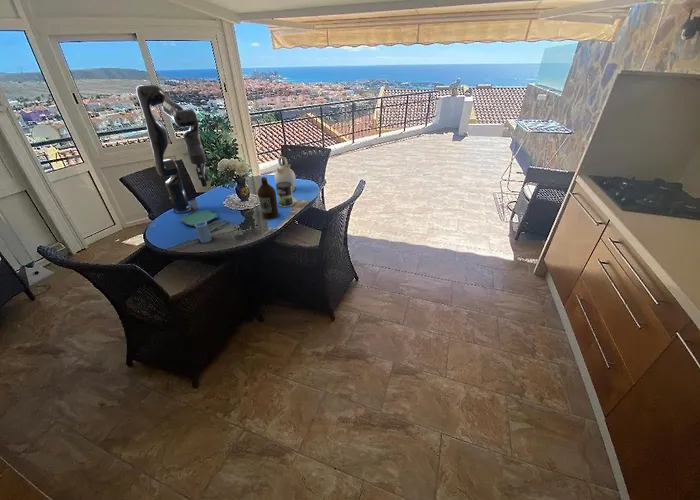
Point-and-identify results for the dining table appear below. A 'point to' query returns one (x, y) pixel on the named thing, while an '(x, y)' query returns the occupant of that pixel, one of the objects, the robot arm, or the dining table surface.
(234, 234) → the dining table surface
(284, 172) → the jug
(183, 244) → the dining table surface
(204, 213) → the cutlery set
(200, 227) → the cup
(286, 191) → the coffee can
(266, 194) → the brown bottle
